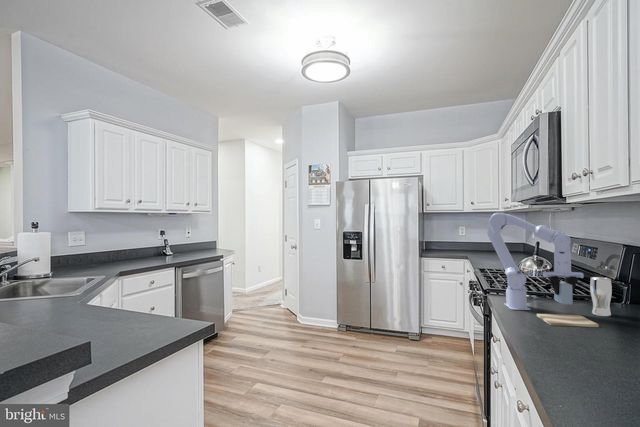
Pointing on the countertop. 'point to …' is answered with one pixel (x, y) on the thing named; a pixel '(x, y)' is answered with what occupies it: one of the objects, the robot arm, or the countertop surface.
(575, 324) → the board
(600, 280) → the beer glass
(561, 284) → the slab
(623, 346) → the countertop surface
